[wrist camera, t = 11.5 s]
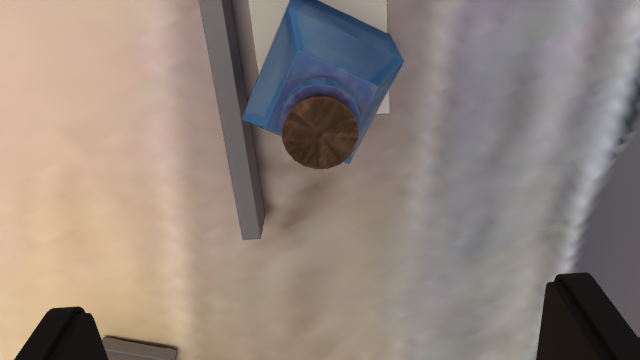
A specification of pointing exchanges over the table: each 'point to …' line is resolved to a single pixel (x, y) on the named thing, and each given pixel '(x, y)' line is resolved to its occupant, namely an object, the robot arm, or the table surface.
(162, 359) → the cassette tape recorder
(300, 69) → the perfume bottle
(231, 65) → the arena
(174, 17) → the table surface
